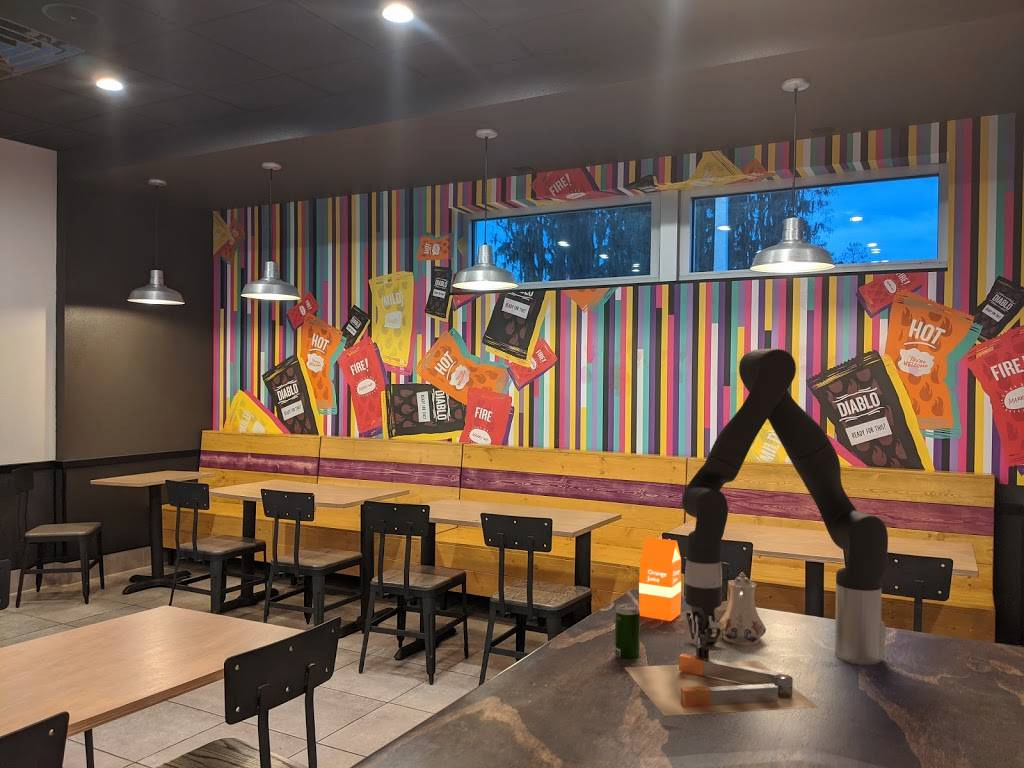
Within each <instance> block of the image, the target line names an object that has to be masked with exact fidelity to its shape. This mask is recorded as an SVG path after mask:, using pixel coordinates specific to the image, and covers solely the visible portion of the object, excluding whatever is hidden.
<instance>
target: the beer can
mask: <svg viewBox="0 0 1024 768" xmlns="http://www.w3.org/2000/svg"><path fill="white" fill-rule="evenodd" d="M614 612H615V613H614V615H615V616H614V617H615V618H614V627H615V628H614V657H617V658H621V659H626V660H633V659H637V658H639V657H640V653H641V652H640V649H641V648H640V643H641V642H640V638H641V635H640V634H641V631H640V630H641V616H640V610H639V605H637V604H633V603H619V604H616V608H615V611H614Z"/></svg>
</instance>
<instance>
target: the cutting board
mask: <svg viewBox="0 0 1024 768" xmlns="http://www.w3.org/2000/svg"><path fill="white" fill-rule="evenodd" d="M725 662H726V661H725ZM726 663H732V664H737V665H742V666H747V667H752V668H757V669H762V670H767V671H772V670H771V669H770V668H768V667H767V666H766V665H764V664H763V663H762V662H761V661H759V660H748V661H747V660H746V661H745V660H744V661H729V662H726ZM623 668H624V669H625V671H626V672H627V673H628V674H629V675H630V677H631V678H632V679H633V680H634V682H635V683H637V686H639V688H641V690H642V691H643V692H644V693H645V695H646V696H647V697H648V699H649V700H650V701H651V702H652V704H653V705H654V707H656V708H657V709H658V711H659V712H660V713H661V714H662V716H663V717H673V716H675V717H676V716H689V715H705V714H706V715H707V714H724V713H738V712H756V711H758V712H759V711H770V710H771V711H773V710H789V709H805V708H819V706H818V705H817V704H816V703H814V701H812V700H810V699H809V698H808V697H807V696H805V695H804V694H803V693H801V692H800V691H799V690H797V689H796V688H795V687H793V690H792V696H791V697H781V696H778V702H769V703H752V704H735V705H718V706H705V707H688V708H684V707H683V705H682V704H681V687H696V686H707V687H719V686H737V685H750V684H745V683H740V682H735V681H730V680H725V679H721V678H716V677H711V676H706V675H698V674H693V673H688V672H683V671H679V664H665V665H645V666H627V667H623Z"/></svg>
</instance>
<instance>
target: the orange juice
mask: <svg viewBox="0 0 1024 768" xmlns="http://www.w3.org/2000/svg"><path fill="white" fill-rule="evenodd" d="M638 579H639V582H638V594H639V595H638V599H639V600H638V601H639V602H638V606H639V610H640V617H646V618H650V619H651V618H652V619H656V620H662V621H668V622H671V621H673V620H674V619H676V617H679V615H681V606H682V605H681V604H682V603H681V598H682V596H681V594H682V580H681V579H682V558H681V554H680V549H679V545H678V540H673V539H664V538H655V537H650V536H648V537H647V536H646V537H645V539H644V542H643V546H642V551H641V556H640V559H639V578H638Z"/></svg>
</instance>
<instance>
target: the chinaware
mask: <svg viewBox="0 0 1024 768" xmlns="http://www.w3.org/2000/svg"><path fill="white" fill-rule="evenodd" d="M746 576H747V575H746V574H745V573H744V571H741V572H740V573H739V575H738V576H736V578H735V579H734V580H732V579H731V580H729V581H728V582H727V583H728V585H729V590H730V591H729V593H730V594H729V600H724V601H722V604H721V606H720V607H717V608H715V610H714V613H715V624H714V625H715V627H716V628H720V635H719V637H718V639H717V641H716V644H717V643H719V642H720V641H721V640H722V637H723V640H724V641H726V642H728V643H730V644H734V645H741V646H753V645H757V644H759V643H761V640H760V638H761V637H763V636H764V635H765V633H766V631H767V629H766V626H765V624H764V623H763V621H762V619H761V618H760V616H759V614H758V612H757V611H758V610H757V607H756V603H755V590H756V587H757V583H755V582H753V581H751V580H750V579H749V578H748V577H746ZM713 648H716V646H714V647H713Z"/></svg>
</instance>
